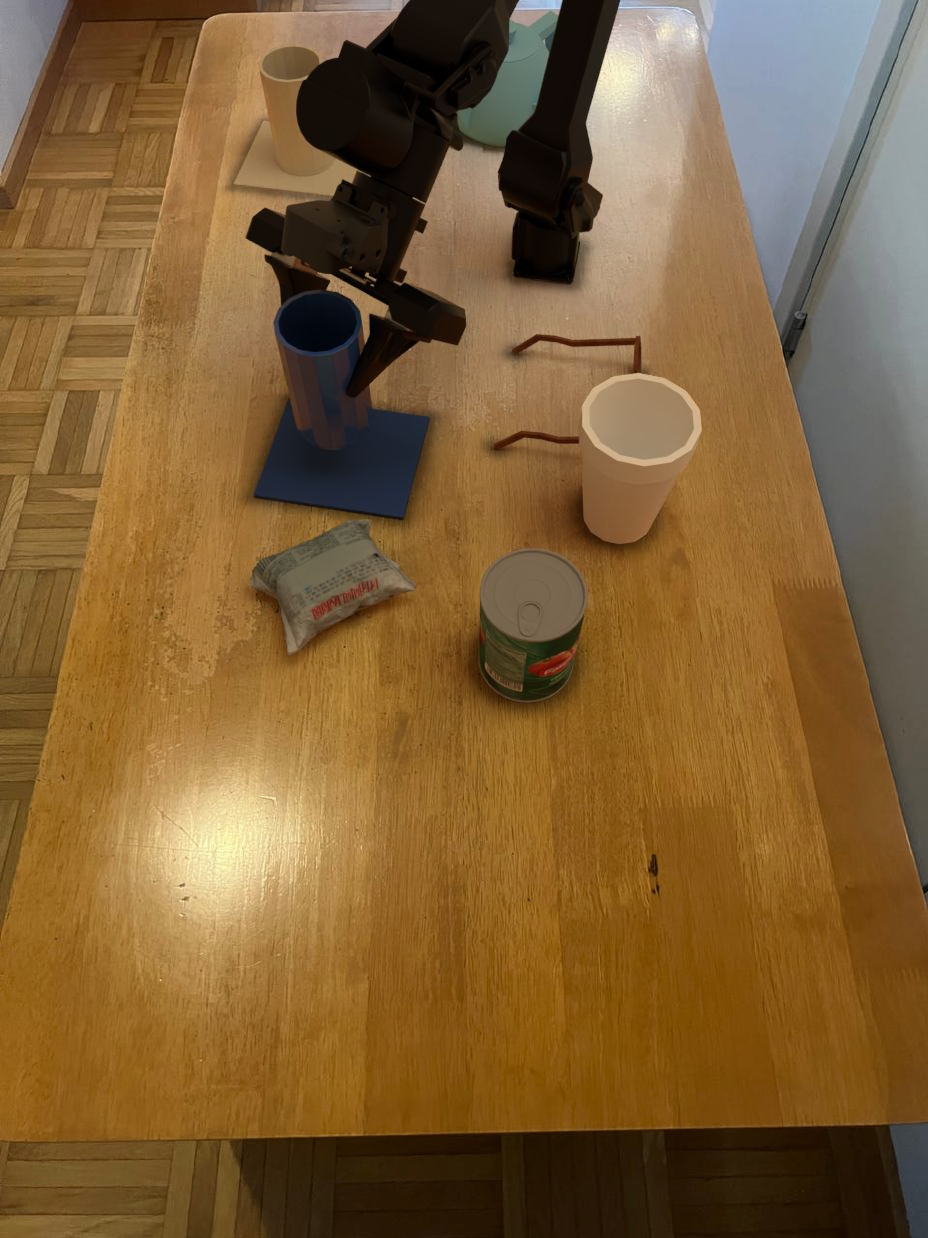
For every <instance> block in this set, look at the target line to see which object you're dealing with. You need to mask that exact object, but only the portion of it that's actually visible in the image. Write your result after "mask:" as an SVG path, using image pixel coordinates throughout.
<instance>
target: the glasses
mask: <svg viewBox="0 0 928 1238" xmlns="http://www.w3.org/2000/svg"><path fill="white" fill-rule="evenodd" d="M538 342H548V343H555V344H560V345H564V346H568V347H571V348H582V347H585V348H588V347H616V346H617V347H618V346H619V347H620V346H634V347H633V373H632V374H635V373H641V374H642V338H641V335H635V337H622V338H621V337H620V338H616V337H615V338H589V339H588V338H586V339H570V338H567V337H563V336H559V335H555V334H541V333H540V334H539V333H536V334H535V335H533V336H531V337H529V338H527V339H526V340H525V341H523V342H521V343H519V344H518V345H516V346H515V347H513V348H512V349H511V352H512V353H513V354H514V355H515V356H517V355H518V354H520V353H522V352H523V351H525V350H527V349H528V348H530V347H531V346H534V345H535V344H537V343H538ZM523 439H531V440H532V439H533V440H541V441H546V442H550V443H553V444H557V445H558V444H559V445H579V435H578V436H577V435H576V436H558V435H553V434H549V433H546V432H541V431H530V430H529V431H528V430H520V431H517V432H515V433H514V434H511V435H510V436H508V437H505V438H503V439H500V440H499V441H496V442H495V443H493V448H494V449H495V450H496V451H499V450H501V449H504V448H505V447H508V446H509V445H511V444H513V443H516V442H518V441H520V440H523Z"/></svg>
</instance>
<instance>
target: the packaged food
mask: <svg viewBox="0 0 928 1238" xmlns="http://www.w3.org/2000/svg"><path fill="white" fill-rule="evenodd" d="M372 524H373V522H372V520H371V518H359V519H351V520H345V521H344V522H342V523H340V524H338V525H336V526H335V527H333V528H331V529H329V530H327V531H324V532H323V533H321V534H319V535H317V536H316V537H313V538H312V539H308V540H306V541H303V542H301V543H299V544H296V545H294V546H292V547H290V548H287V549H285V550H283V551H281V552H278V553H275V554H272V555H269V556H265V557H261V558H260V559H259V561H258V562H257V563H256V565H255V566H254V567H253V569H252V570H251V573H252V575H251V577H250V578H249V586H251V588H252V589H253V591H260V592H262V593H264V594H266V595H268V596H270V597H272V598H273V599H275V600H276V601H277V603H278V605H279V608H280V614H281V621H282V625H283V631H284V637H285V647H286V653H287V655H288V656H292V655H295V654H297V653H298V652H300V651H301V650H302V649H303V648H304V647H305V645H307V644H308V643H309V642H310V641H311V640H312V639H313V638H315V637H316V636H317V635H319V634H321V633H322V632H324V631H326V630H327V629H329V628H331V627H332V626H334V625H336V624H338V623H339V622H341V621H343V620H345V619H347V618H349V617H351V616H353V615H354V614H355V613H357V612H359V611H361V610H364V609H367V608H371V607H373V606H375V605H377V604H380V603H383V602H385V601H387V600H390V599H393V598H395V597H398V596H400V595H405V594H406V593H410V592H414V591H417V584H416V583H415V582H414V581H413V579H411V578H409V577H408V576H407V575H406V574H405V572H403V571H401V569H399V568H400V564H399V563H397V562H395V561H394V560H392V559H391V558H389V557H388V556H387V555H386V554H385V553H383V552H382V550H381V549H379V547H378V546H377V545H376V543H375V541H374V539H373V538H372V537H371V536H370V532H371V526H372Z"/></svg>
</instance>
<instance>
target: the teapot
mask: <svg viewBox="0 0 928 1238" xmlns="http://www.w3.org/2000/svg"><path fill="white" fill-rule="evenodd" d="M558 15H559V14H557V13H556V12H553V11H552V10H548V12H546V13H545V14H543V15H542V16H540V17H539V18H538V19H536V20H535V21H533V23H531V24H530V25H525V24H523V23H520V22H516V21H514V20H511V19H510V22H509V50H508V53H507V55H506V57H505V59H504V61H503V63H502V65H501V67H500V69H499V71H498V74H497V77H496V80H495V83H494V85H493V87H492V89H491V91H490V92H489V93H488V94H487V96H485V97H484V98H483V100H482V101H481V102H480V103H479V104H478V105H477V106H476V107H475V108H473V109H471V108H468V109H464V110H459V111H457V112H456V113H457V114H458V126H459V129H460V132H461V134H462V135H465V136H466V137H468V138H469V139H471V140H474V141H476V142H478V143H481V144H484V145H485V146H488V147H489V146H490V147H499V148H500V147H501V148H505V144H506V138H507V136H508V135H509V134H510V132H511V131H512V130H518V129H519V128H520V127H521V126H522V125H523V124H524V123H525V122H526V121H527V120H528V119H529V117H530V116H531V115H532V114H533V113H534V111H535V108H536V105H537V101H538V97H539V92H540V88H541V84H542V80H543V76H544V72H545V68H546V64H547V60H548V56H549V52H550V48H551V44H552V40H553V36H554V32H555V28H556V24H557V20H558Z"/></svg>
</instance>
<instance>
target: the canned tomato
mask: <svg viewBox="0 0 928 1238" xmlns="http://www.w3.org/2000/svg"><path fill="white" fill-rule="evenodd" d="M588 603H589V594H588V587H587V583H586V580H585V578H584V576H583V574H582V573H581V571H580V570H579V569H578V567H577V566H576V565H575V564H574V563H573V562H572V561H570V560H569V559H568V558H567V557H565V556H563V555H561V554H559V553H557V552H554V551H552V550H549V549H544V548H537V547H536V548H535V547H527V548H526V547H525V548H520V549H515V550H513V551H509V552H507V553H505V554H503V555H501V556H500V557H498V558H497V559H496V560H495V561H494V562H492V563H491V564H490V565H489V566H488V568H487V569H486V571H485V572H484V574H483V577H482V578H481V582H480V586H479V623H478V624H479V626H478V632H479V633H478V661H477V662H478V666H479V672H480V674H481V677H482V678H483V680H484V682H485V683H486V685H488V687H489V688H490V689H491V690H492V691H493V692H494V693H496V694H497V695H499V696H501V697H503V698H504V699H507V700H508V701H509V700H510V701H512V702H516V703H523V704H525V703H527V704H531V703H533V704H534V703H538V702H542V701H545V700H548V699H550V698H552V697H553V696H555V695H557V694H558V693H559V692H560V691H561V690H562V689H564V688H565V686H566V685H567V683H568V682H569V681H570V678H571V676H572V673H573V670H574V663H575V659H576V655H577V650H578V645H579V640H580V636H581V631H582V627H583V623H584V618H585V612H586V611H587V606H588Z"/></svg>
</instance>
